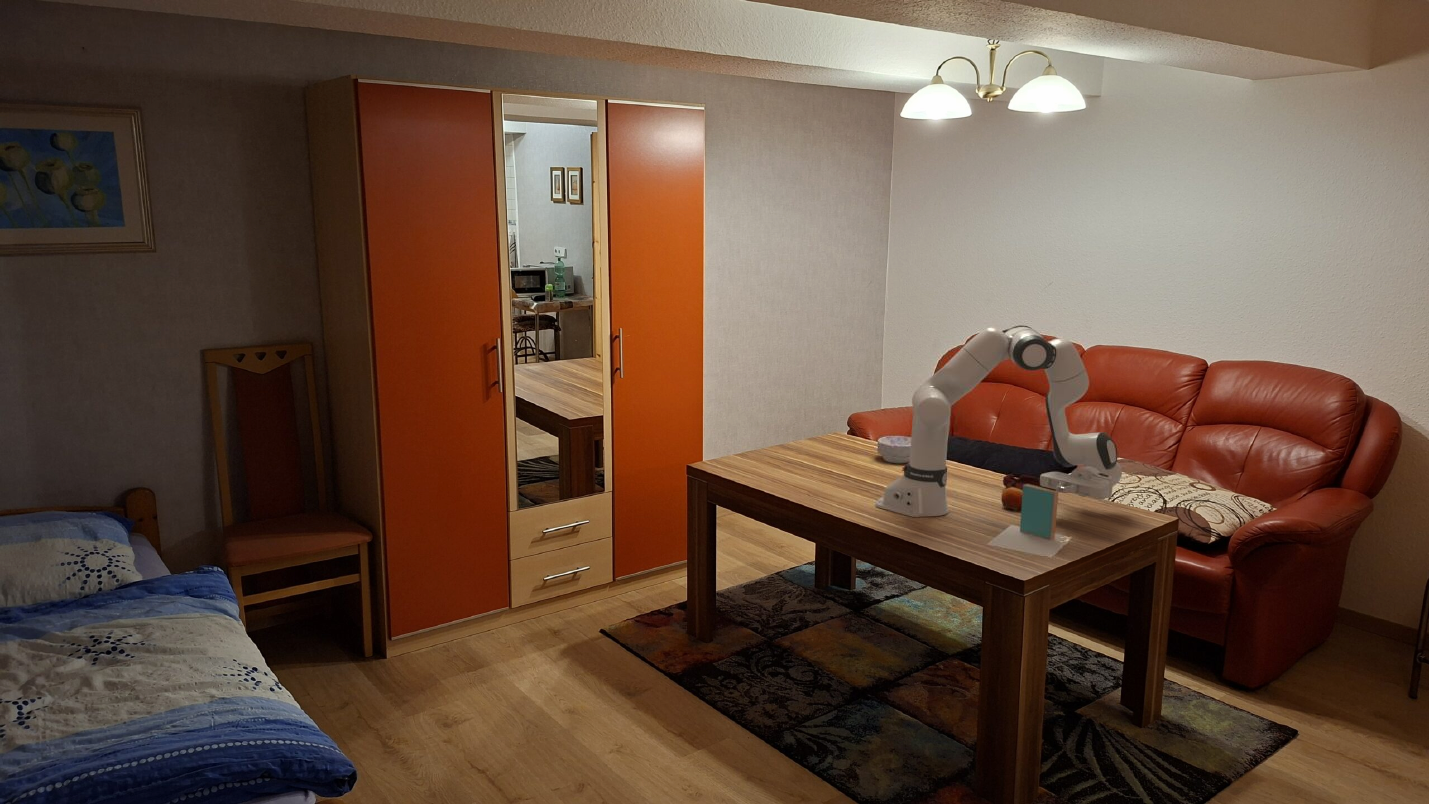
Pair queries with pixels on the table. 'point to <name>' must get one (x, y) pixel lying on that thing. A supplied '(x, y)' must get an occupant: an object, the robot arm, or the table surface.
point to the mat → (1027, 542)
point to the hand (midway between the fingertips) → (1060, 489)
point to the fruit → (1012, 498)
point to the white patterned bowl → (895, 449)
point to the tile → (1039, 511)
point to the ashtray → (1021, 482)
